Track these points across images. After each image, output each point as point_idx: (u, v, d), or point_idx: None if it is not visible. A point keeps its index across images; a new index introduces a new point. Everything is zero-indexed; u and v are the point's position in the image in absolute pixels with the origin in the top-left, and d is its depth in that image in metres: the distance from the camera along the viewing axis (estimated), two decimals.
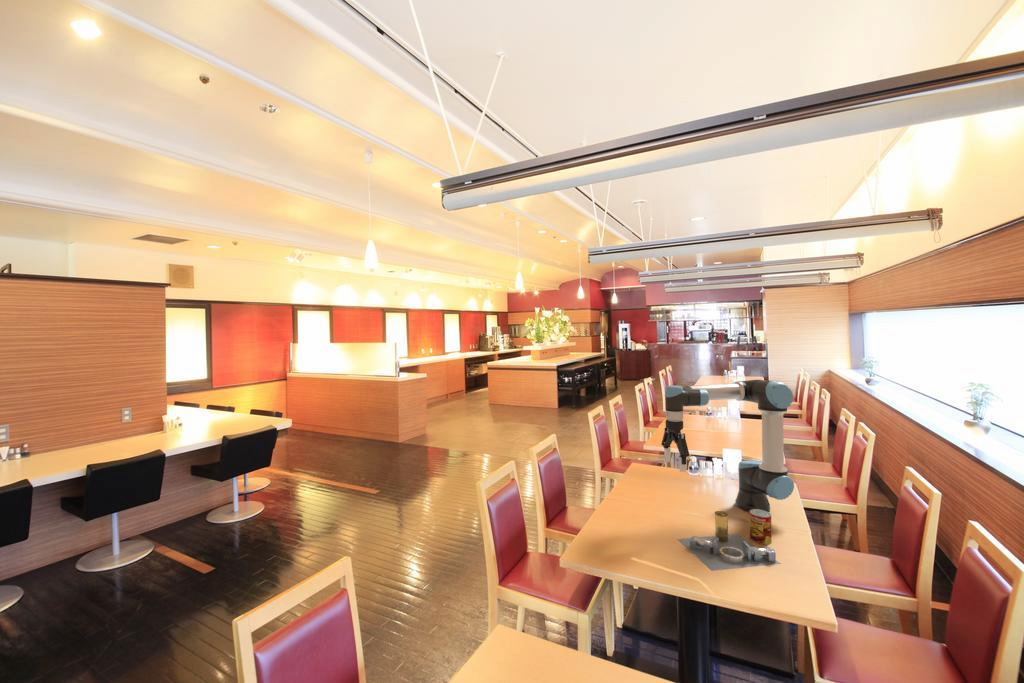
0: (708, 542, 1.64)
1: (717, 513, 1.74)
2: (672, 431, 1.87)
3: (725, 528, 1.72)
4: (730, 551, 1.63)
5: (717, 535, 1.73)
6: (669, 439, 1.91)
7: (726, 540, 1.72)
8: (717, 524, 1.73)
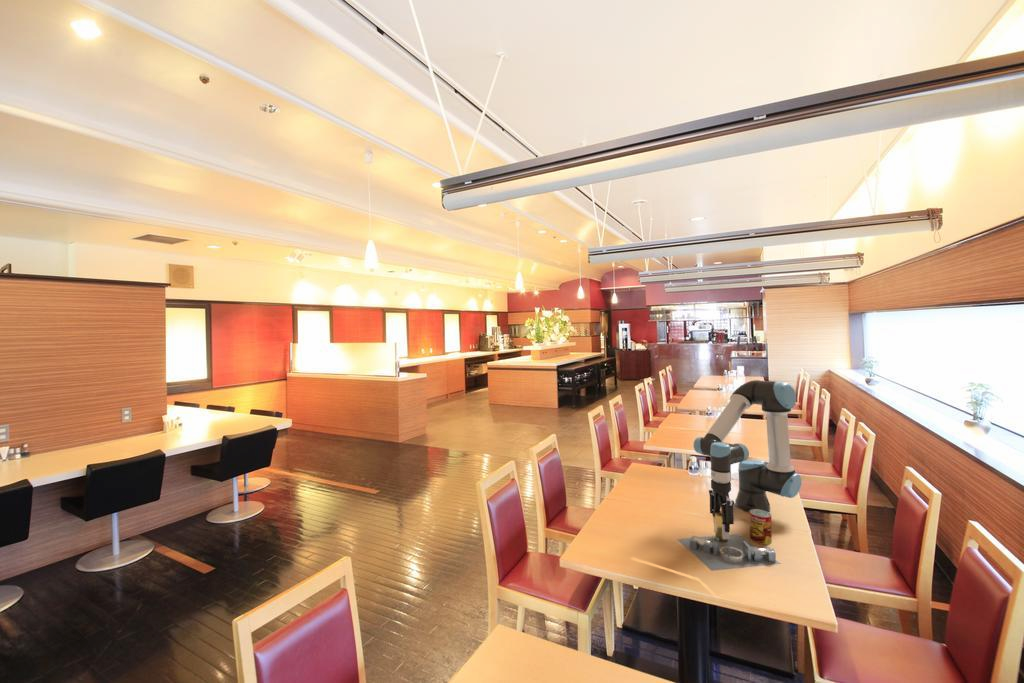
0: (708, 542, 1.64)
1: (717, 513, 1.74)
2: (718, 493, 1.73)
3: None
4: (730, 551, 1.63)
5: (717, 535, 1.73)
6: (717, 503, 1.75)
7: (726, 540, 1.72)
8: (717, 524, 1.73)
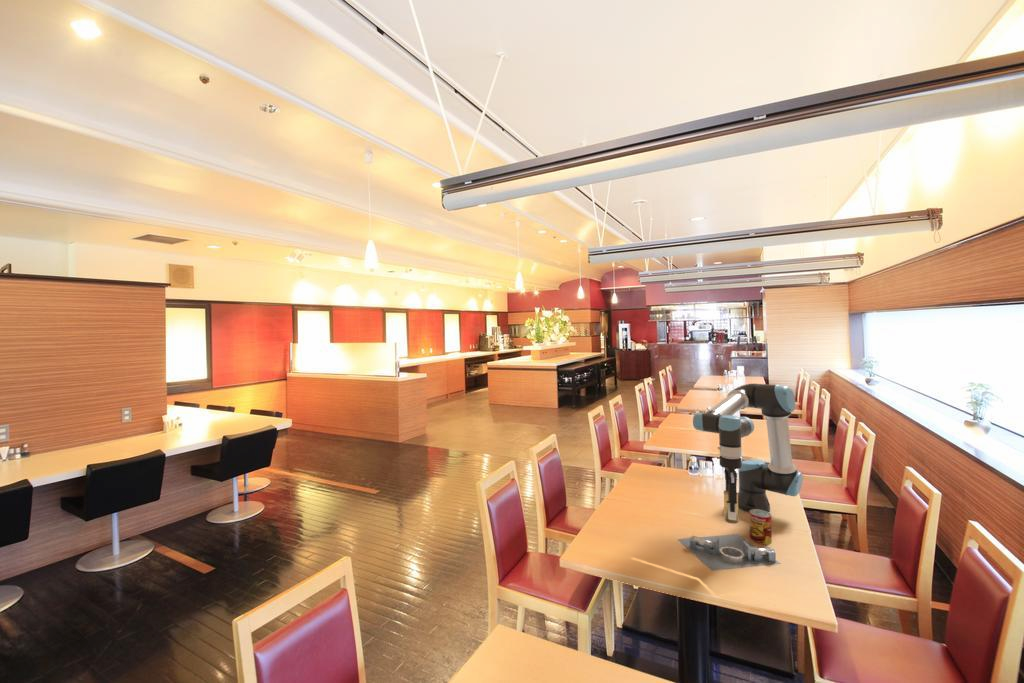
0: (708, 542, 1.64)
1: (726, 491, 1.61)
2: (727, 469, 1.60)
3: None
4: (730, 551, 1.63)
5: (724, 514, 1.60)
6: (728, 481, 1.62)
7: (733, 521, 1.58)
8: (724, 503, 1.60)
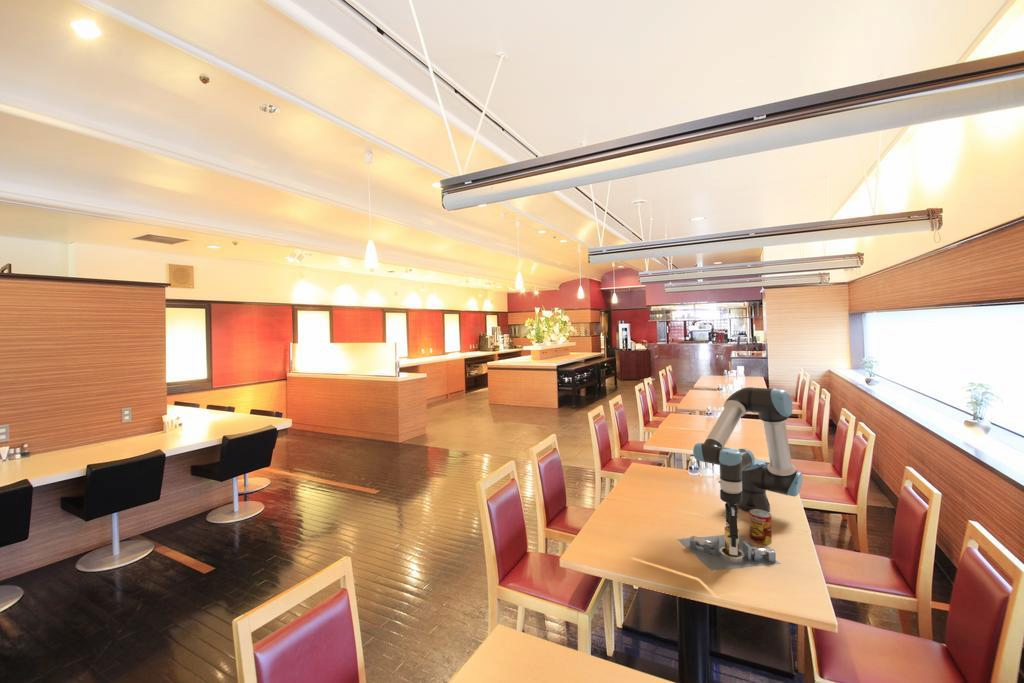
0: (708, 542, 1.64)
1: (727, 528, 1.61)
2: (727, 503, 1.60)
3: None
4: None
5: (725, 551, 1.60)
6: None
7: None
8: (725, 539, 1.60)
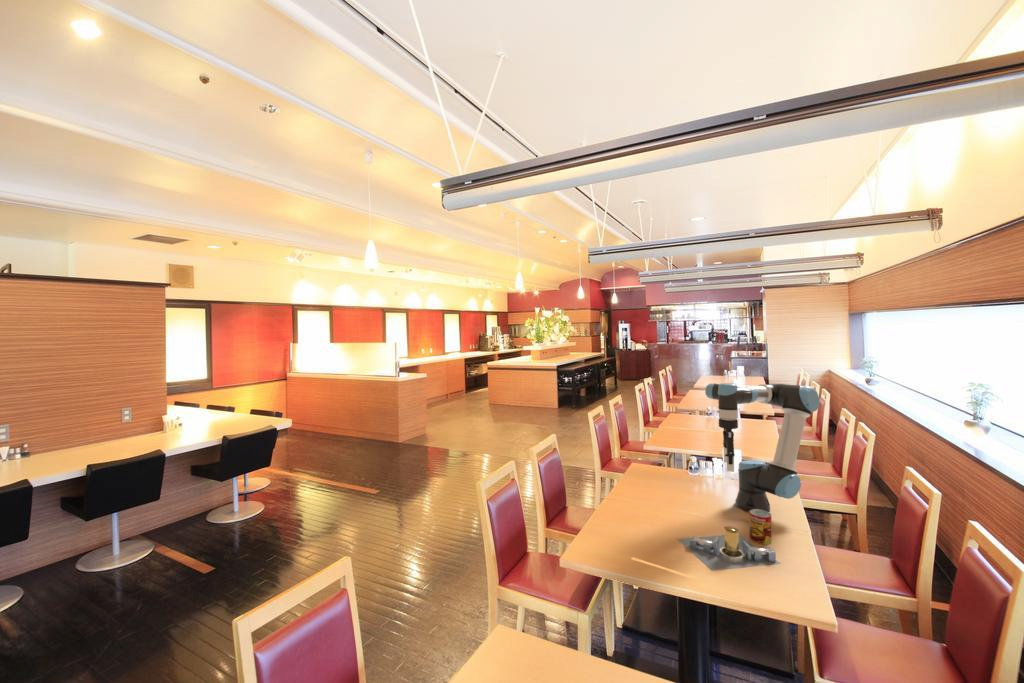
0: (708, 542, 1.64)
1: (726, 528, 1.61)
2: (725, 430, 1.83)
3: (732, 545, 1.58)
4: None
5: (725, 551, 1.60)
6: None
7: None
8: (725, 539, 1.60)
